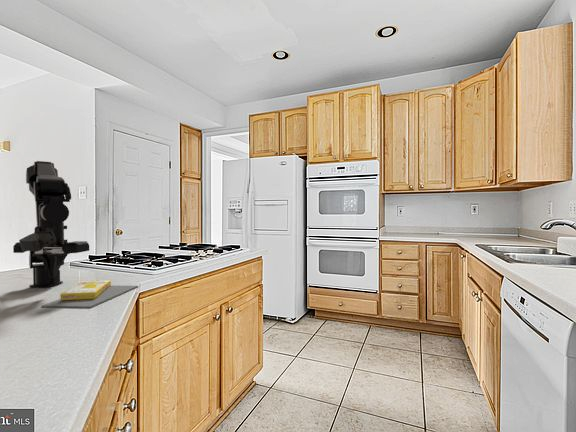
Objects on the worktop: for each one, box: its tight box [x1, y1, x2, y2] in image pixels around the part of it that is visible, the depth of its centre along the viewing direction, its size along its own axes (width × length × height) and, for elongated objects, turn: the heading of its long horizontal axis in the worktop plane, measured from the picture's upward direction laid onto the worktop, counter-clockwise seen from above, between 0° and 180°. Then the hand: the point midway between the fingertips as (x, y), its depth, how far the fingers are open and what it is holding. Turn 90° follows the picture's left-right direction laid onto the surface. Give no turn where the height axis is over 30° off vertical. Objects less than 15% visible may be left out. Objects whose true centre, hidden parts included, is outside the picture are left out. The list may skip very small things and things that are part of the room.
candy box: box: [59, 279, 112, 300], centre depth 94 cm, size 16×2×8 cm
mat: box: [40, 284, 139, 309], centre depth 92 cm, size 13×22×1 cm, turn 176°
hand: (52, 277), depth 93 cm, fingers closed
